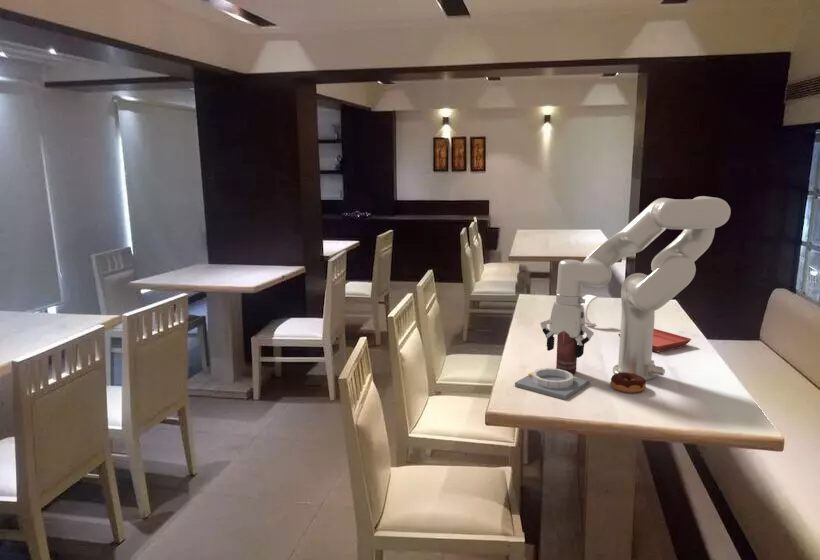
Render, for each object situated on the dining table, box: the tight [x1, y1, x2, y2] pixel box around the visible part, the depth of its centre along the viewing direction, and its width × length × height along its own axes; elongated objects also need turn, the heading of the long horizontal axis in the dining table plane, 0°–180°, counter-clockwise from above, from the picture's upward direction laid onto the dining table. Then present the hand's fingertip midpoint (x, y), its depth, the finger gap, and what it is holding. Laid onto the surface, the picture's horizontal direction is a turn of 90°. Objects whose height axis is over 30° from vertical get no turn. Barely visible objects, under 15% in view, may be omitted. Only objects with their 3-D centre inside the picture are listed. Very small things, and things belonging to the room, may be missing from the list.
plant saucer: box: [617, 328, 692, 353], centre depth 214 cm, size 18×18×3 cm
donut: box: [610, 372, 647, 394], centre depth 172 cm, size 10×10×4 cm
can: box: [555, 331, 578, 375], centre depth 184 cm, size 6×6×14 cm
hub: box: [514, 367, 591, 401], centre depth 174 cm, size 16×16×3 cm
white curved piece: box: [581, 294, 598, 328], centre depth 239 cm, size 5×6×12 cm
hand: (564, 353), depth 185 cm, fingers open, 9 cm apart
